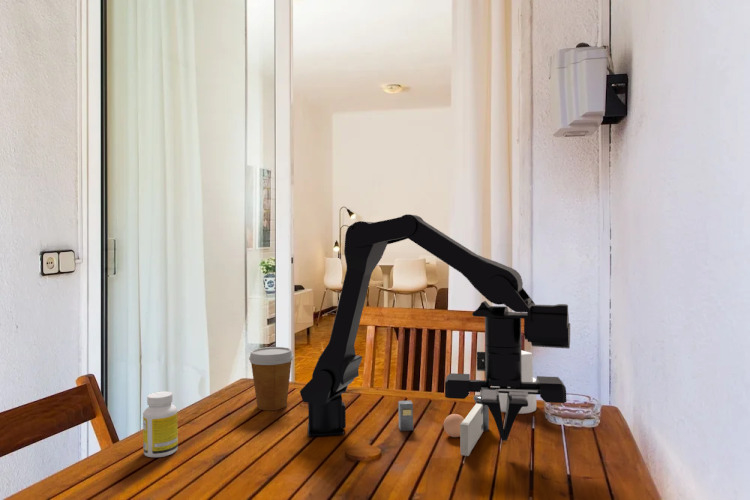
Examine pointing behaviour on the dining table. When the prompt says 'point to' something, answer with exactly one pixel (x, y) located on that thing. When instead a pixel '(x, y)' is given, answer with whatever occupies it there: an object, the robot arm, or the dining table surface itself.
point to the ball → (453, 425)
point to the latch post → (405, 415)
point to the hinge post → (485, 413)
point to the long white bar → (471, 429)
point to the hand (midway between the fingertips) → (504, 440)
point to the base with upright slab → (526, 377)
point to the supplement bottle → (160, 425)
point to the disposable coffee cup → (271, 376)
